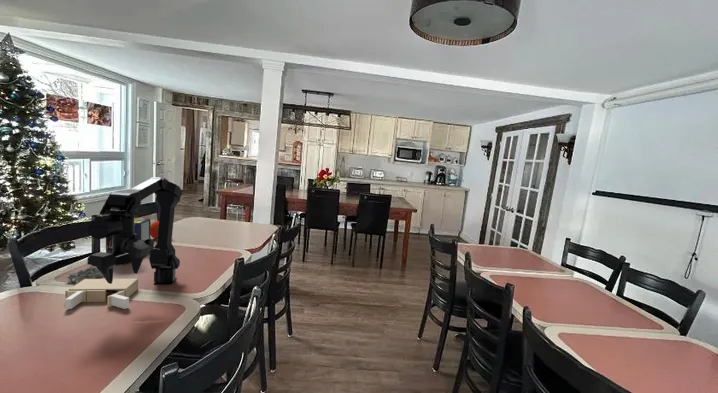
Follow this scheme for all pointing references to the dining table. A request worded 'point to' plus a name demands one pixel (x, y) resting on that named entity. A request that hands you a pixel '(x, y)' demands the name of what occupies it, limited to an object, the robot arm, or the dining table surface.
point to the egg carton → (84, 275)
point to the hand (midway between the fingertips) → (123, 278)
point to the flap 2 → (118, 300)
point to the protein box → (142, 228)
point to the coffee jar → (119, 260)
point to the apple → (154, 229)
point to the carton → (105, 288)
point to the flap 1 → (74, 298)
